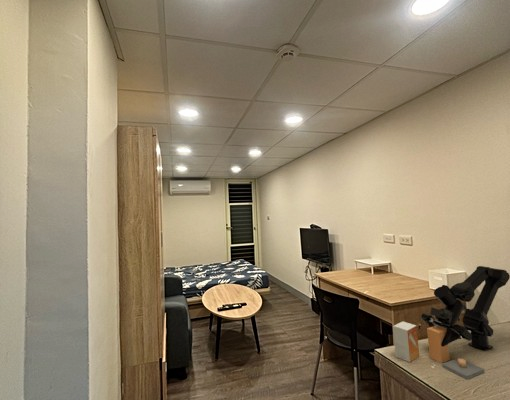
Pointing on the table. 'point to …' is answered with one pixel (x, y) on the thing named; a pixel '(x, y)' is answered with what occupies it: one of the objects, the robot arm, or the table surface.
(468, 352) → the table surface
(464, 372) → the plate
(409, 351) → the small box
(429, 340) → the orange block on stand
